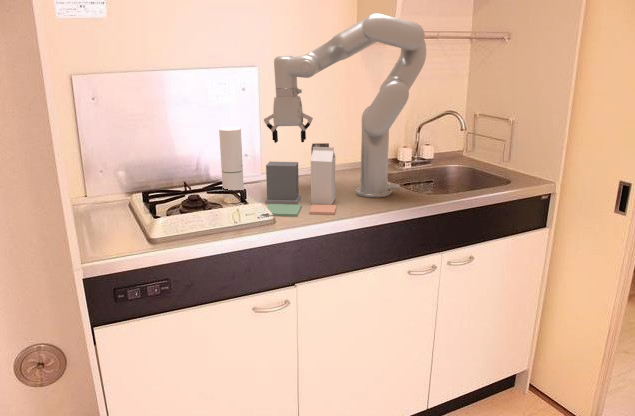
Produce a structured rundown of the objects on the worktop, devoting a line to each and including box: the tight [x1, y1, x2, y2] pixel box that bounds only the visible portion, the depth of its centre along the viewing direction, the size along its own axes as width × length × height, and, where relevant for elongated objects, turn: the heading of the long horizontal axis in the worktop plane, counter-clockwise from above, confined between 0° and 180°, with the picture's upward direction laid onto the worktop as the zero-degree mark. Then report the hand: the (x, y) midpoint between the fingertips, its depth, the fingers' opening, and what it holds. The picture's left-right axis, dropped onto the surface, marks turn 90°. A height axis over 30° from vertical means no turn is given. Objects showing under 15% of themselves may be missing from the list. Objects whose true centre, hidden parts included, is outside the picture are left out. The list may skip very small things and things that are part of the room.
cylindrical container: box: [218, 126, 245, 198], centre depth 182 cm, size 7×7×25 cm
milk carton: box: [310, 146, 336, 205], centre depth 181 cm, size 7×7×19 cm
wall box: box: [265, 161, 302, 205], centre depth 183 cm, size 11×8×13 cm
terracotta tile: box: [308, 204, 337, 216], centre depth 174 cm, size 8×8×1 cm
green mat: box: [266, 203, 303, 218], centre depth 174 cm, size 11×10×1 cm
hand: (289, 141), depth 190 cm, fingers open, 9 cm apart
